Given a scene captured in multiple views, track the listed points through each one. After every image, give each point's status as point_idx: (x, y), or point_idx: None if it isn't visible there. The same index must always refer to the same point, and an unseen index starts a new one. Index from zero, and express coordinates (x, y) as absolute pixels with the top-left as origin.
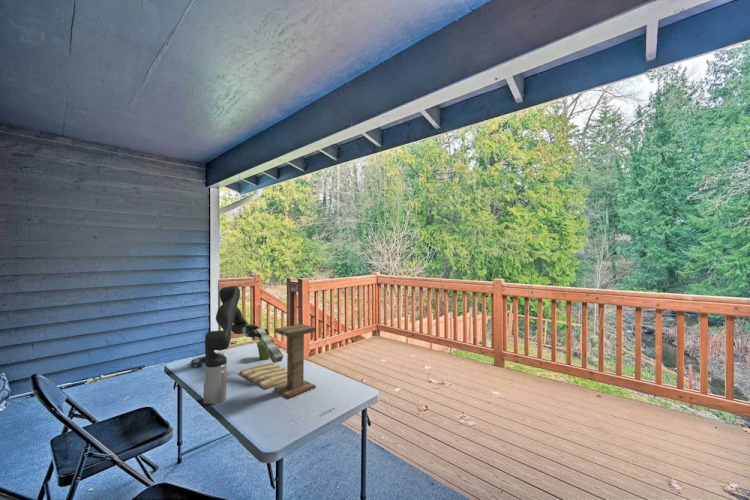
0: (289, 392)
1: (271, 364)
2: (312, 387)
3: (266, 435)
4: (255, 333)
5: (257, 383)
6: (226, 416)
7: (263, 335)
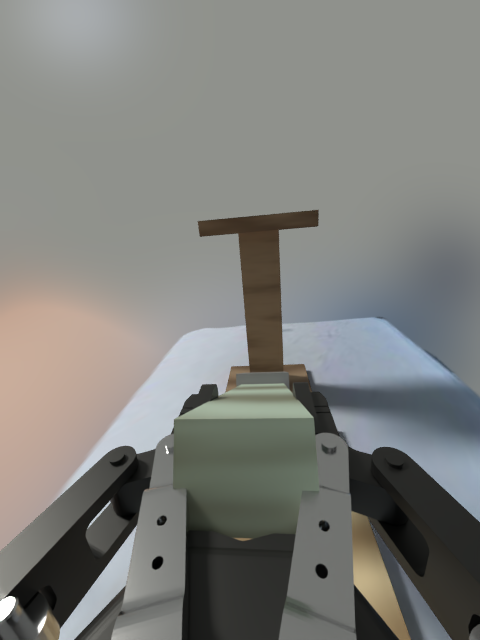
0: (296, 371)
1: None
2: (240, 367)
3: (376, 331)
4: (346, 450)
5: None
6: (457, 382)
7: (265, 396)
